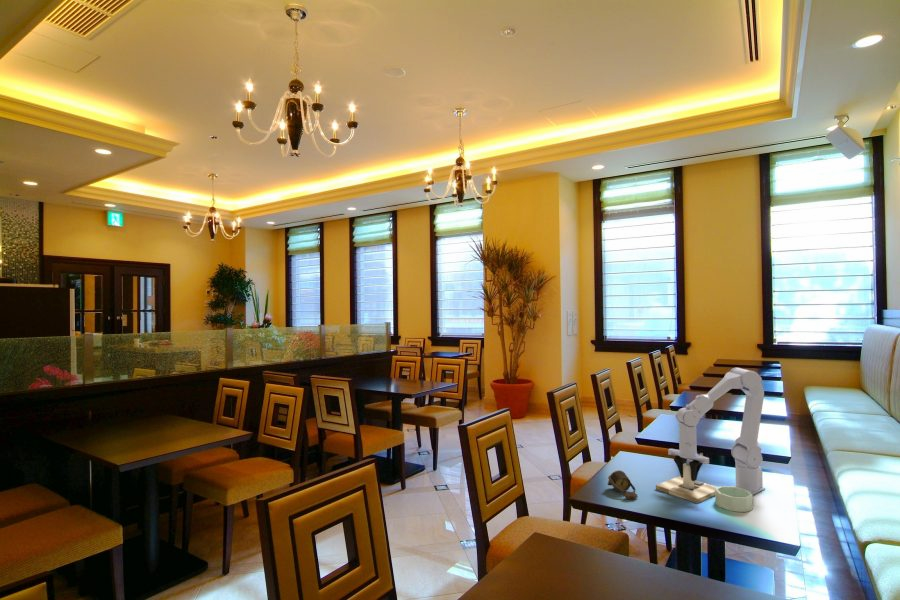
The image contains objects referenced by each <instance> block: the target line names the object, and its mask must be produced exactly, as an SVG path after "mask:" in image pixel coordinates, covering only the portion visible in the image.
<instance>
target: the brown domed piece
mask: <svg viewBox="0 0 900 600" xmlns="http://www.w3.org/2000/svg"><path fill="white" fill-rule="evenodd" d="M607 478H608V482H607V485H608V486H611V487H613V488H614V489H613V490H615V491H616V492H618V493H623V496H624V497H625V499H627V500H629V501H630V500H631V501H632V500H636V499H638V497H639V496H638V494H637V493H636V488H635V485H633V484H632V482H631V480H630V479H629V477H628V476H627V474H626V473H625V472H624V471H623V470H615V471H613V472H612V473H611V474H610V475H608V477H607ZM630 487H631V488H632V490H633V491H628V490H629V489H630Z"/></svg>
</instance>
